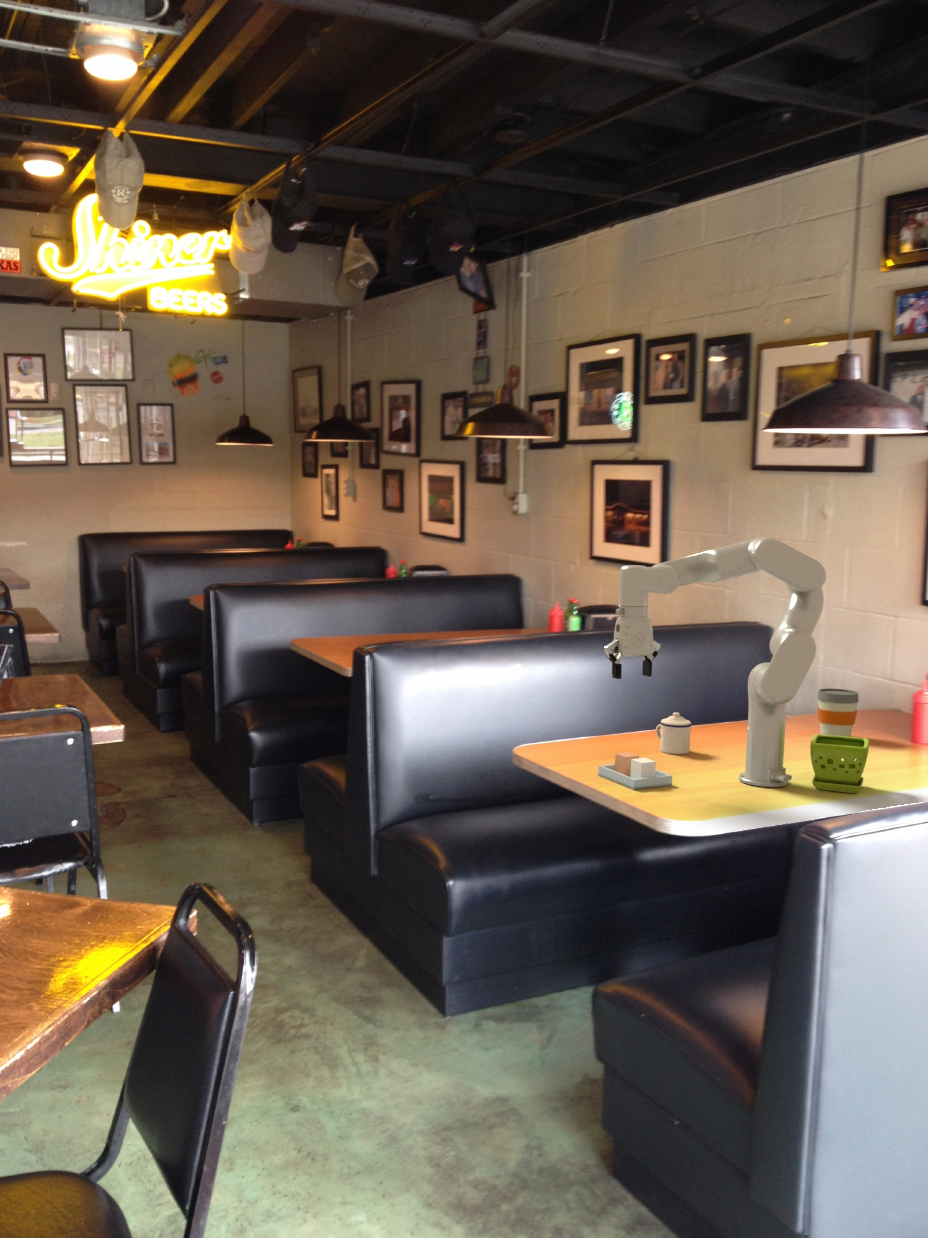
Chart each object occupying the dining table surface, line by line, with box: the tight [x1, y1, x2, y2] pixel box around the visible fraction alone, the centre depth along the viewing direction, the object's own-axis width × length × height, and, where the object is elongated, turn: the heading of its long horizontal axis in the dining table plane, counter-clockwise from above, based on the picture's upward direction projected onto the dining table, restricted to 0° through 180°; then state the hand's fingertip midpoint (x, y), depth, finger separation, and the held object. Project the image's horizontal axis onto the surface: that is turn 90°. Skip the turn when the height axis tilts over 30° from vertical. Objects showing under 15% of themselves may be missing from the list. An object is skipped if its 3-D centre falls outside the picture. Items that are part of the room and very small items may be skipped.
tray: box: [597, 763, 673, 791], centre depth 267 cm, size 16×12×3 cm
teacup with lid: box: [655, 712, 692, 756], centre depth 303 cm, size 12×9×12 cm
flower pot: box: [809, 733, 870, 794], centre depth 264 cm, size 14×14×13 cm
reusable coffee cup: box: [816, 687, 860, 737], centre depth 328 cm, size 13×13×15 cm
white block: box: [630, 757, 657, 779], centre depth 264 cm, size 4×4×6 cm
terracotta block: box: [614, 751, 640, 777], centre depth 270 cm, size 4×4×6 cm
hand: (631, 677), depth 268 cm, fingers open, 9 cm apart
